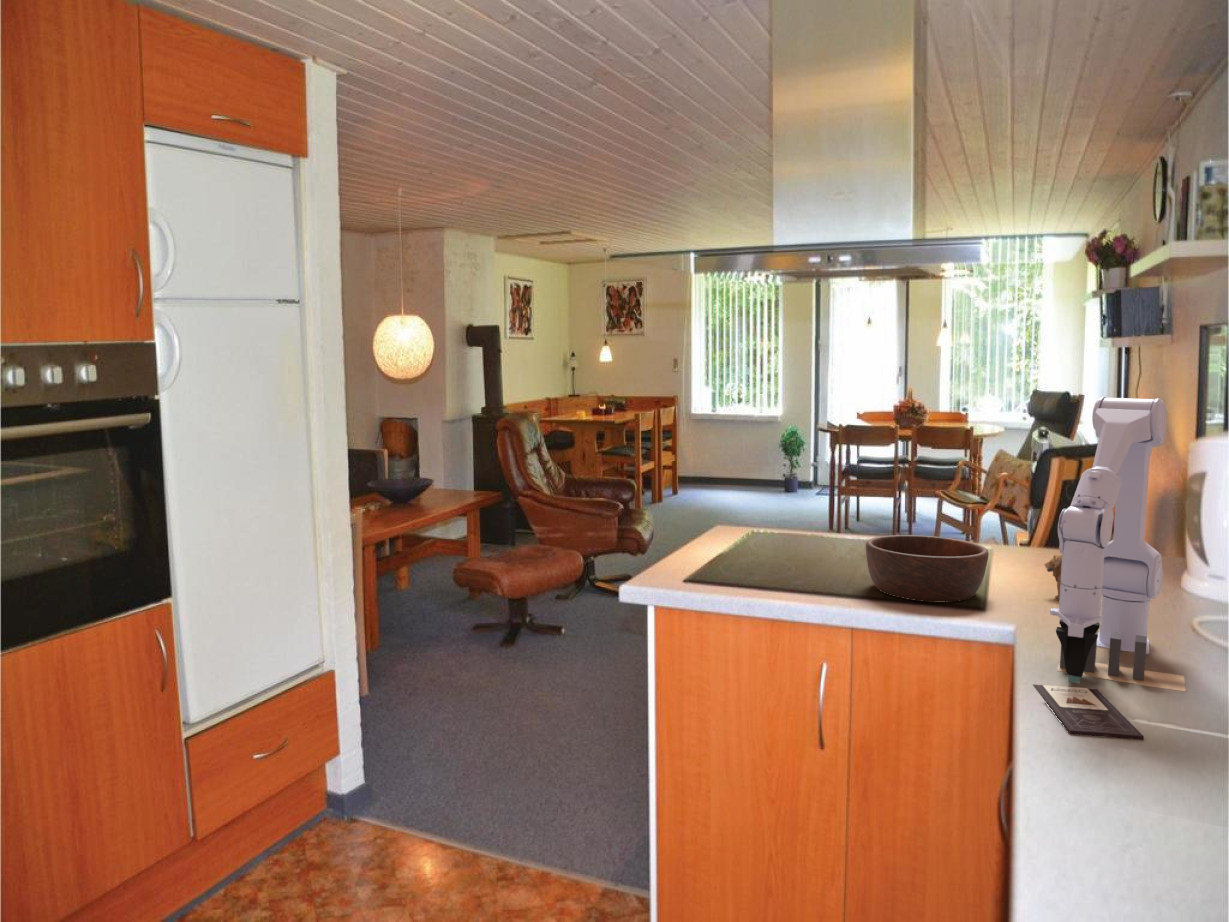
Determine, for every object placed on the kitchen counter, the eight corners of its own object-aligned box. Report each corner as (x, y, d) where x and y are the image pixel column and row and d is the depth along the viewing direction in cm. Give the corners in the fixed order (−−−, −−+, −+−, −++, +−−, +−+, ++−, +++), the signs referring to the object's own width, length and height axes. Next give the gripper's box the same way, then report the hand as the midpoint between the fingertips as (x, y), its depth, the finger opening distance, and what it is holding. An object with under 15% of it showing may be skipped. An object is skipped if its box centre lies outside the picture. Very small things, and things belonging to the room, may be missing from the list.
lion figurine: (1040, 593, 197) (1042, 552, 196) (1064, 593, 197) (1067, 552, 196) (1074, 611, 183) (1076, 567, 182) (1100, 611, 183) (1103, 567, 182)
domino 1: (1059, 667, 147) (1062, 631, 146) (1061, 660, 150) (1063, 625, 150) (1070, 669, 146) (1072, 632, 145) (1071, 662, 149) (1074, 626, 149)
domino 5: (1132, 679, 142) (1135, 641, 141) (1132, 671, 145) (1135, 635, 144) (1143, 680, 141) (1146, 643, 140) (1143, 673, 144) (1146, 636, 144)
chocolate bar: (1069, 730, 121) (1033, 684, 139) (1069, 737, 121) (1032, 690, 139) (1143, 736, 119) (1096, 688, 137) (1143, 743, 119) (1096, 695, 137)
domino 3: (1083, 671, 145) (1085, 634, 144) (1084, 664, 149) (1087, 628, 148) (1094, 673, 144) (1096, 636, 144) (1095, 666, 148) (1097, 629, 147)
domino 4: (1107, 675, 143) (1110, 638, 143) (1108, 668, 147) (1111, 631, 146) (1118, 677, 143) (1121, 639, 142) (1119, 669, 146) (1121, 633, 145)
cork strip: (1060, 659, 152) (1061, 657, 152) (1183, 678, 143) (1183, 676, 143) (1056, 673, 145) (1056, 670, 145) (1185, 694, 137) (1185, 691, 137)
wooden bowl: (852, 597, 192) (853, 549, 191) (877, 574, 214) (879, 530, 213) (979, 613, 181) (981, 562, 180) (991, 587, 203) (994, 541, 202)
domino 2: (1068, 684, 140) (1070, 646, 140) (1070, 676, 144) (1072, 639, 143) (1079, 685, 140) (1081, 647, 139) (1080, 678, 143) (1083, 641, 142)
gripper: (1056, 572, 148) (1051, 654, 150) (1047, 591, 136) (1042, 679, 137) (1105, 578, 145) (1099, 661, 146) (1101, 597, 132) (1095, 688, 134)
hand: (1075, 671), depth 142 cm, fingers closed on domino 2, 4 cm apart
